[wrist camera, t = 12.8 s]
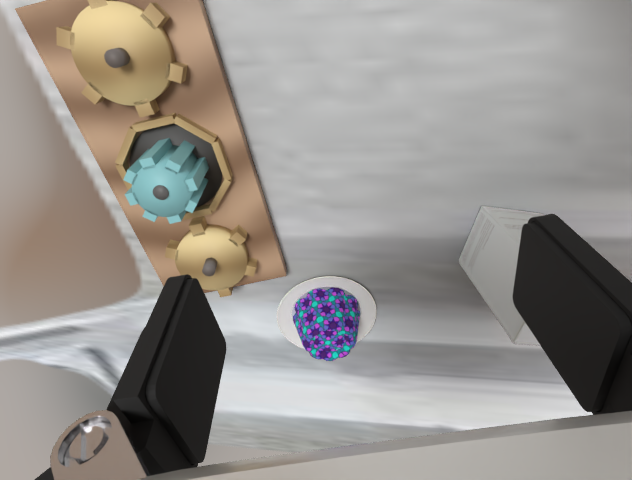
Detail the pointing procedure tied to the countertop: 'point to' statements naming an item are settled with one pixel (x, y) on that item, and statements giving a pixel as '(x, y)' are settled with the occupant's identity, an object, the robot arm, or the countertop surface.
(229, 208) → the gear board
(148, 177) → the loose gear
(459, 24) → the countertop surface
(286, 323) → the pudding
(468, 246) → the supplement box
